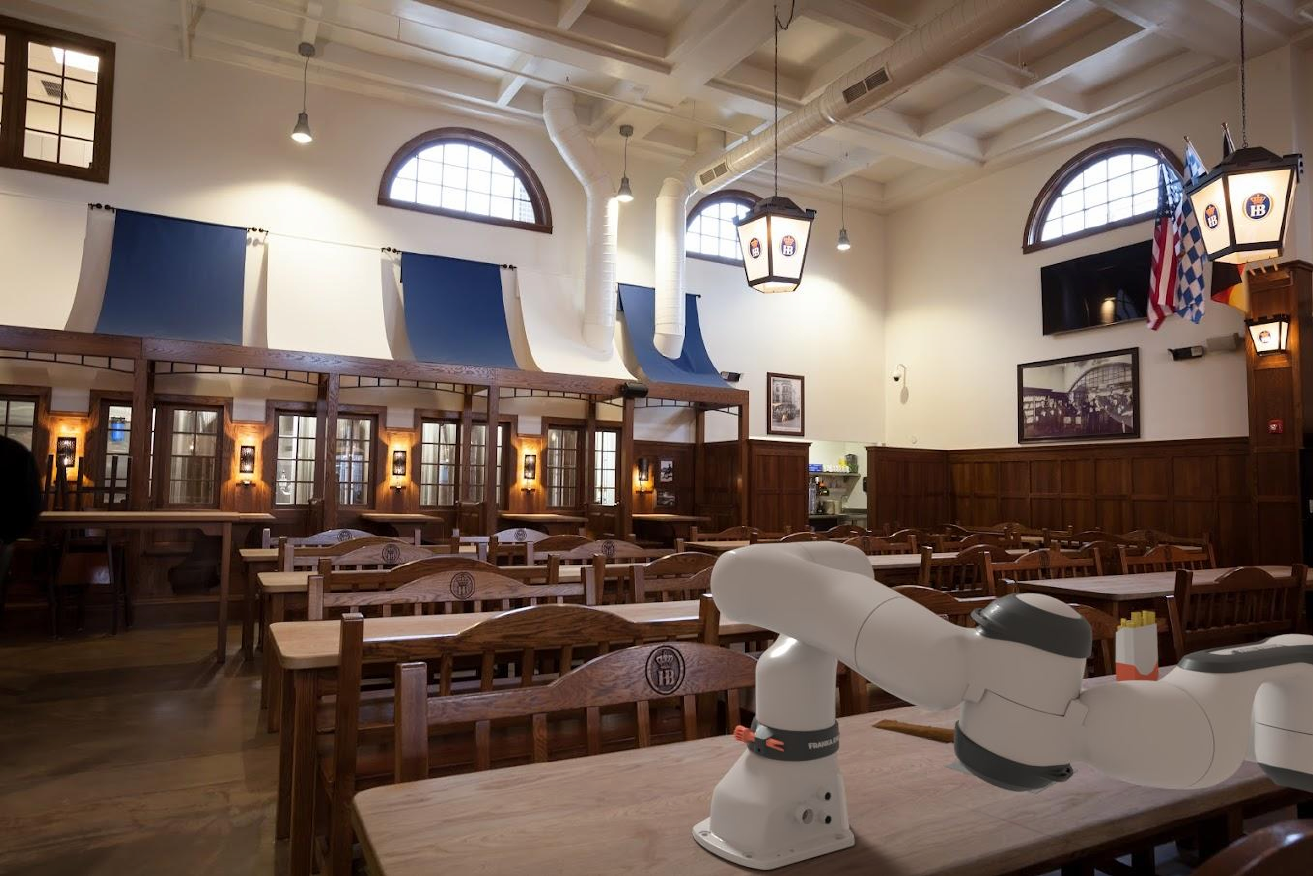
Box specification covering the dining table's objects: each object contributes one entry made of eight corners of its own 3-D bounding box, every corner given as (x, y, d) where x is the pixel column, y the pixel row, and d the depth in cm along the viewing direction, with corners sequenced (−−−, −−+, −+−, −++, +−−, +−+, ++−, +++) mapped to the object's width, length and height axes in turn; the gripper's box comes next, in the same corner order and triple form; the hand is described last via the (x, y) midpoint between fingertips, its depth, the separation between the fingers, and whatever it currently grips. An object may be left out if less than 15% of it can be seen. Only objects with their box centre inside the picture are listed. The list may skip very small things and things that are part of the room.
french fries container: (1114, 690, 182) (1112, 611, 184) (1138, 683, 188) (1135, 607, 189) (1135, 694, 179) (1132, 614, 180) (1159, 687, 185) (1156, 610, 186)
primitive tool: (869, 728, 155) (869, 710, 155) (883, 722, 159) (883, 705, 159) (965, 752, 141) (965, 732, 141) (978, 745, 145) (978, 725, 145)
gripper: (1221, 766, 100) (1104, 738, 111) (1263, 734, 114) (1155, 712, 124) (1219, 716, 101) (1103, 693, 111) (1262, 690, 114) (1154, 672, 125)
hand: (1130, 703), depth 118 cm, fingers closed
